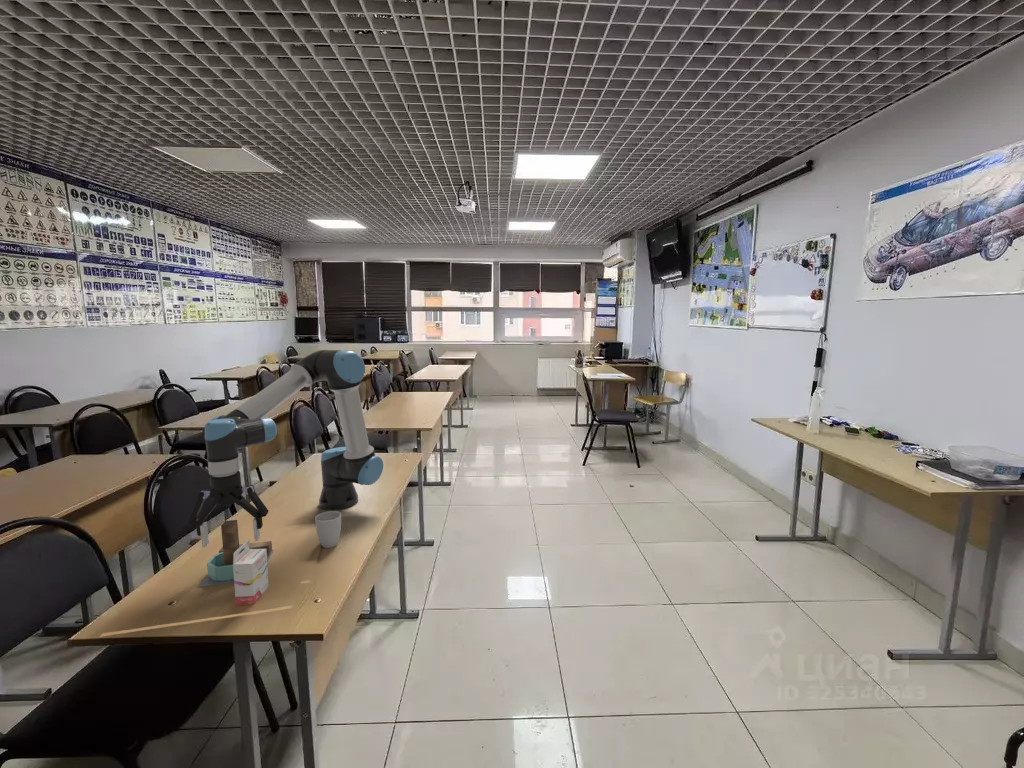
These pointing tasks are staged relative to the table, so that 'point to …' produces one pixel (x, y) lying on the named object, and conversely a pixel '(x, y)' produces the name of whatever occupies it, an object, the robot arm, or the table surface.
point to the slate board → (210, 582)
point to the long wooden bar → (258, 546)
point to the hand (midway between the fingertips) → (231, 542)
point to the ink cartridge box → (249, 574)
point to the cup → (328, 528)
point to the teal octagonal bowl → (220, 568)
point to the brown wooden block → (229, 540)
